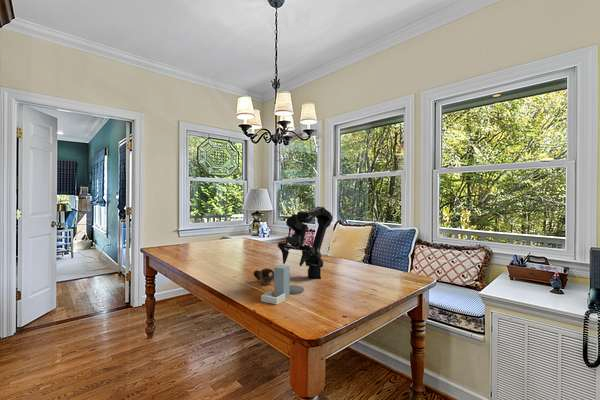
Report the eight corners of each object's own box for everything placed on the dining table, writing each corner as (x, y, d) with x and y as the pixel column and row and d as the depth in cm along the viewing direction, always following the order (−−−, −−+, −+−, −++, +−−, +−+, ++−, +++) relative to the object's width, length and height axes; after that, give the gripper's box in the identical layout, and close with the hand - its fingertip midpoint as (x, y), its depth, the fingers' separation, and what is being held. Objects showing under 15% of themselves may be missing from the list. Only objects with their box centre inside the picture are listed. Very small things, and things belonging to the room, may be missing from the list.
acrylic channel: (270, 296, 128) (270, 290, 128) (285, 299, 124) (285, 293, 124) (261, 301, 122) (261, 295, 122) (276, 304, 118) (276, 298, 118)
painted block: (280, 293, 133) (280, 265, 133) (289, 294, 130) (289, 266, 130) (274, 296, 128) (274, 267, 128) (283, 298, 126) (283, 268, 126)
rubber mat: (302, 286, 144) (302, 284, 144) (305, 293, 132) (305, 292, 132) (278, 286, 142) (278, 285, 142) (279, 294, 130) (279, 293, 130)
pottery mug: (276, 280, 154) (278, 269, 150) (270, 293, 146) (271, 282, 142) (256, 274, 156) (257, 262, 152) (248, 286, 148) (249, 274, 144)
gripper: (276, 227, 143) (267, 257, 137) (309, 230, 134) (301, 262, 128) (286, 235, 152) (278, 264, 146) (318, 238, 143) (311, 269, 137)
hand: (291, 264), depth 139 cm, fingers open, 9 cm apart
